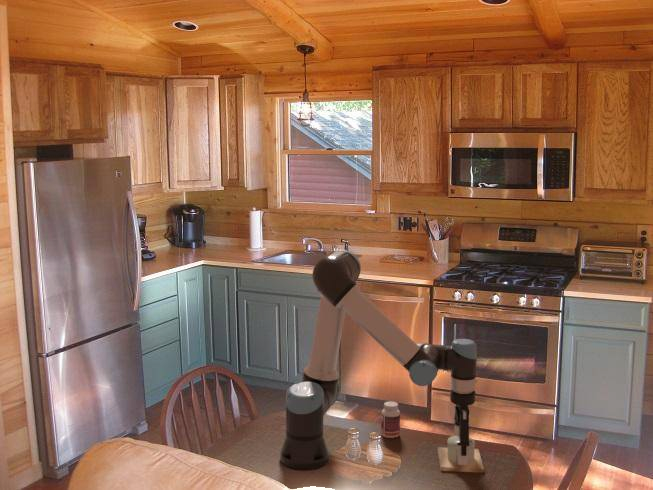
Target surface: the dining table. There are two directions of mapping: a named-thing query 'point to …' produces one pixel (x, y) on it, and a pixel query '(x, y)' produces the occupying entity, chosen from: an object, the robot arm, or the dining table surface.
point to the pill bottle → (390, 420)
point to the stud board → (451, 466)
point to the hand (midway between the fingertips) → (460, 454)
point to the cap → (454, 449)
